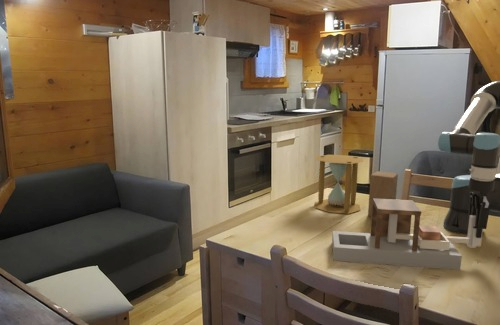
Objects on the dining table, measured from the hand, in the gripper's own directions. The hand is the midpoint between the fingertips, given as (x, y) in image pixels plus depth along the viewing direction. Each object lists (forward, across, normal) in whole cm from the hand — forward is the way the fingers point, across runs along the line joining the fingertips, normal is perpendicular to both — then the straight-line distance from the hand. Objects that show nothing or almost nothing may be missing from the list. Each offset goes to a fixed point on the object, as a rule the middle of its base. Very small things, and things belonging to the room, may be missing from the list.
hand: (474, 243), depth 146 cm
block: (+2, 0, -15) cm, 15 cm away
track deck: (+7, 0, -27) cm, 28 cm away
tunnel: (+2, 0, -27) cm, 27 cm away
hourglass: (+7, -56, -44) cm, 72 cm away
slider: (+1, 0, -14) cm, 14 cm away
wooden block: (+7, -46, -24) cm, 53 cm away
